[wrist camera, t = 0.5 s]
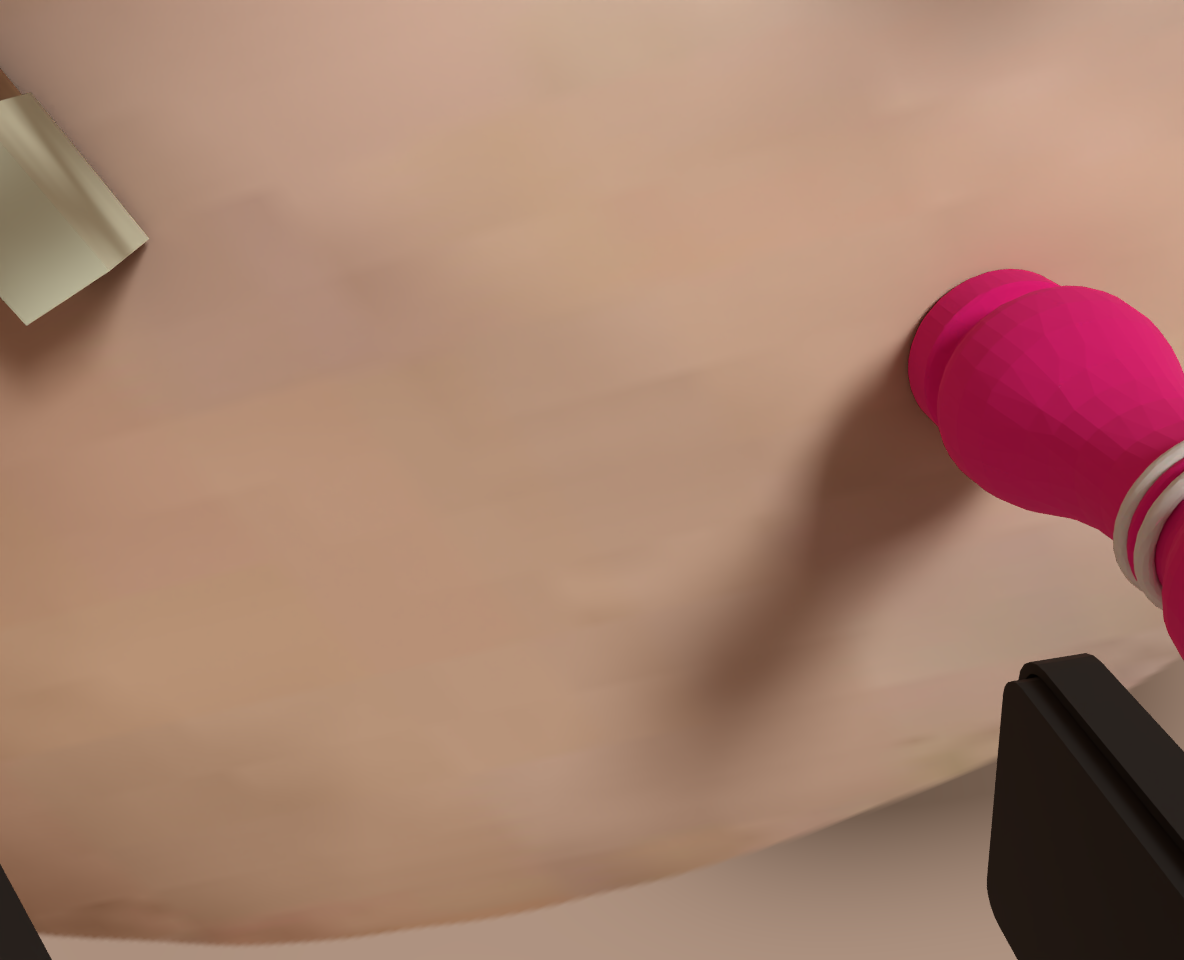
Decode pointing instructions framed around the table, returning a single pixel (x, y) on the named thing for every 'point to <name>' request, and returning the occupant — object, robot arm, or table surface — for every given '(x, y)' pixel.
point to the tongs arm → (52, 212)
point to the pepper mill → (1064, 414)
